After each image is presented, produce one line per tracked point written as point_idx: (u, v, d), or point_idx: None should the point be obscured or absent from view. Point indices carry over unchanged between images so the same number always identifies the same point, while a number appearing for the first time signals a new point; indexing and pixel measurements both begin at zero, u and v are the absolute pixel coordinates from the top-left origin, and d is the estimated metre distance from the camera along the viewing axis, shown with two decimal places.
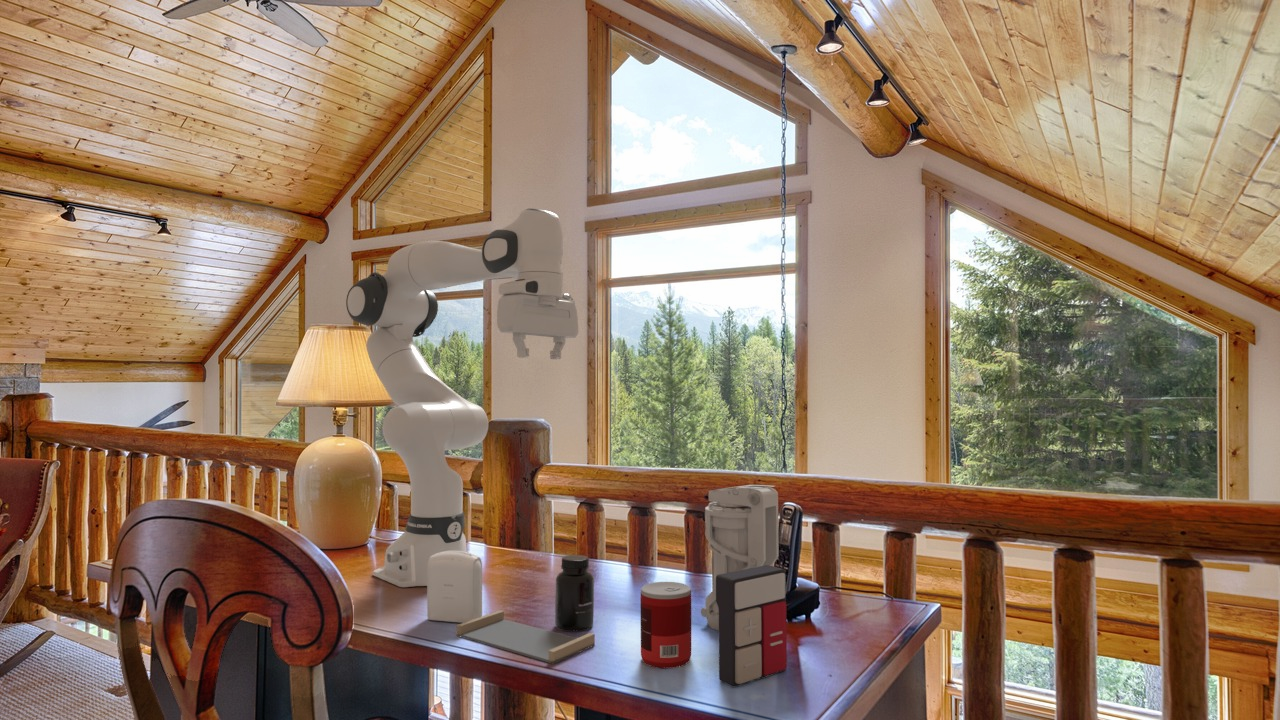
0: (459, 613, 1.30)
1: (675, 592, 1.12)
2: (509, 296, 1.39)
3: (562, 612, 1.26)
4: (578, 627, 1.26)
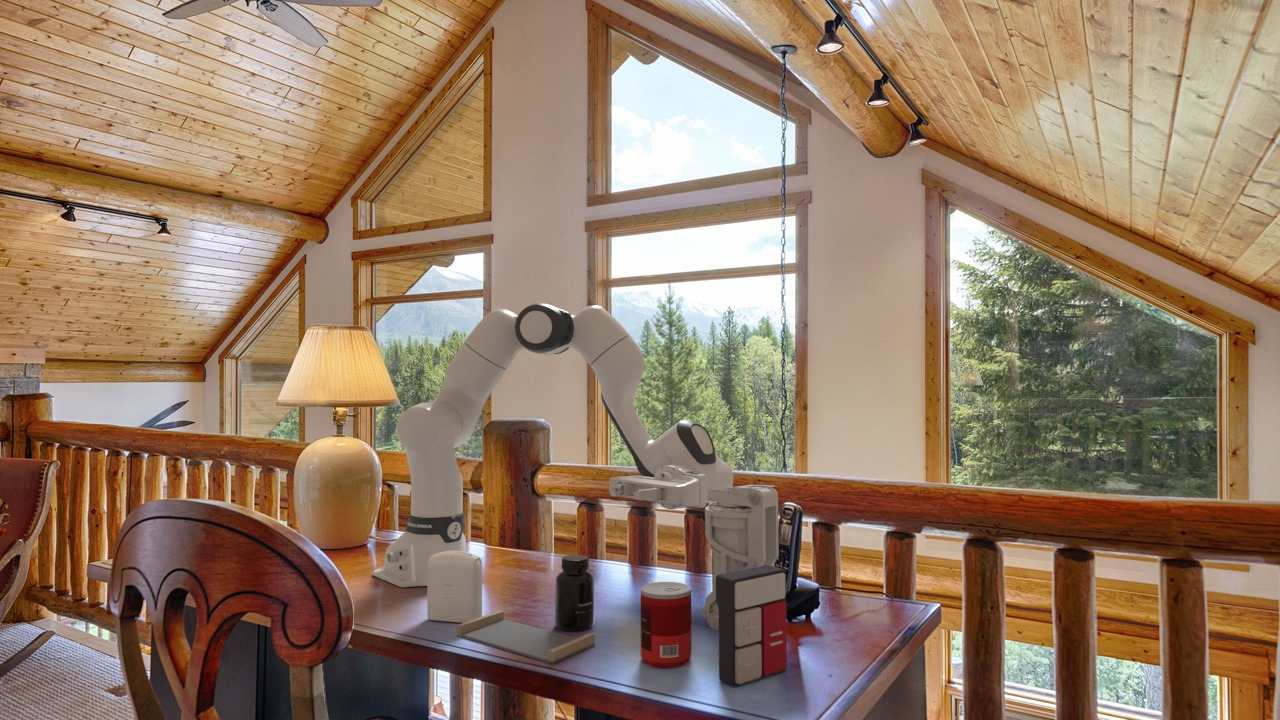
0: (459, 613, 1.30)
1: (675, 592, 1.12)
2: (699, 493, 1.40)
3: (562, 612, 1.26)
4: (578, 627, 1.26)
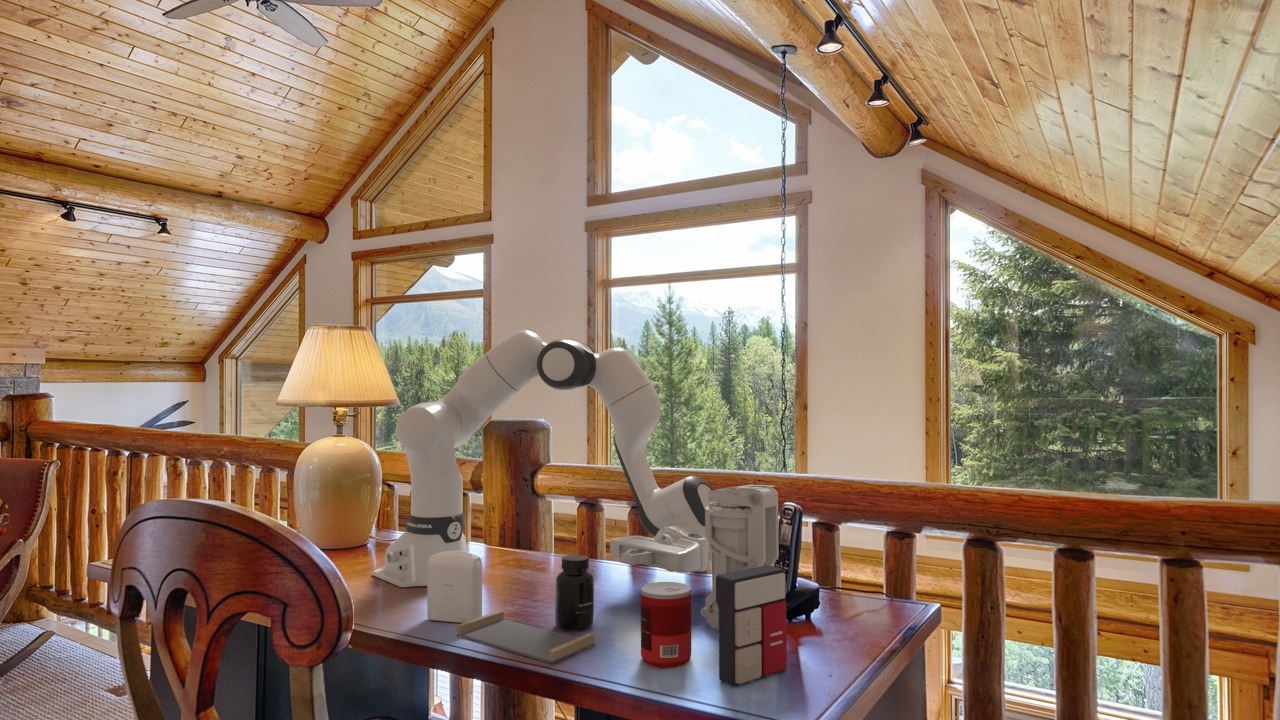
0: (459, 613, 1.30)
1: (675, 592, 1.12)
2: (700, 558, 1.40)
3: (562, 612, 1.26)
4: (578, 627, 1.26)
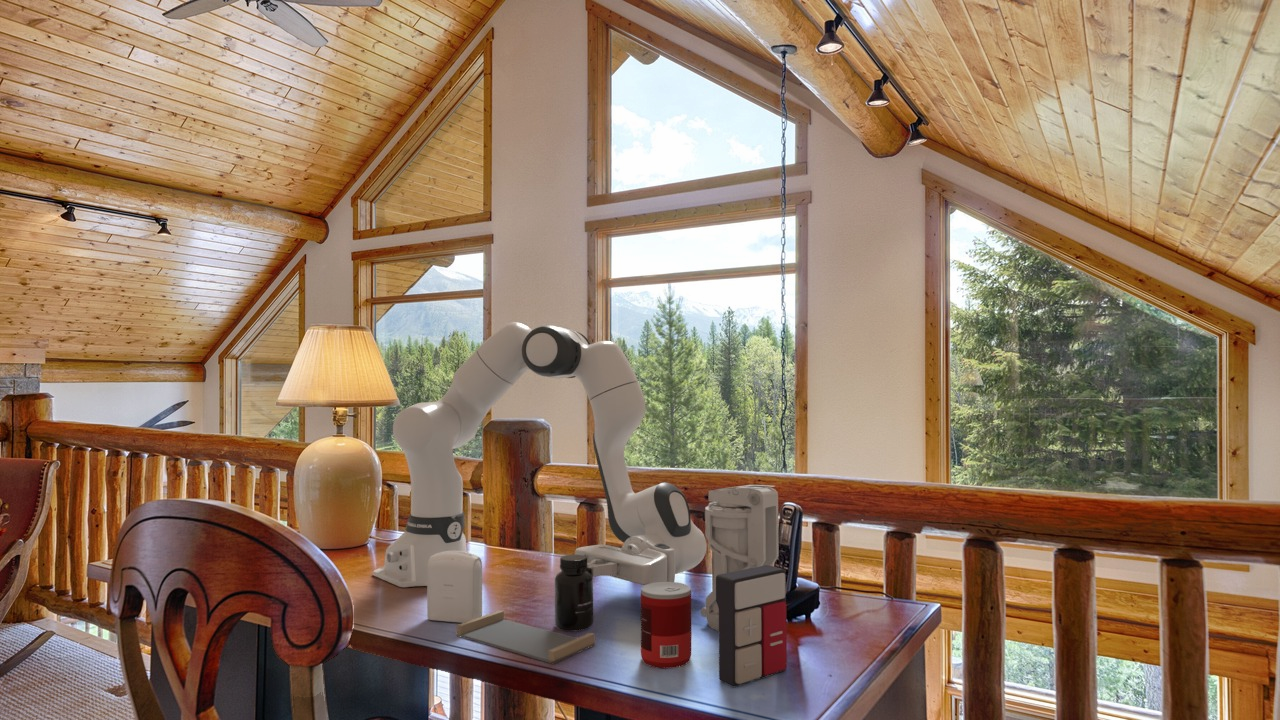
0: (459, 613, 1.30)
1: (675, 592, 1.12)
2: (667, 570, 1.33)
3: (561, 612, 1.26)
4: (578, 627, 1.26)
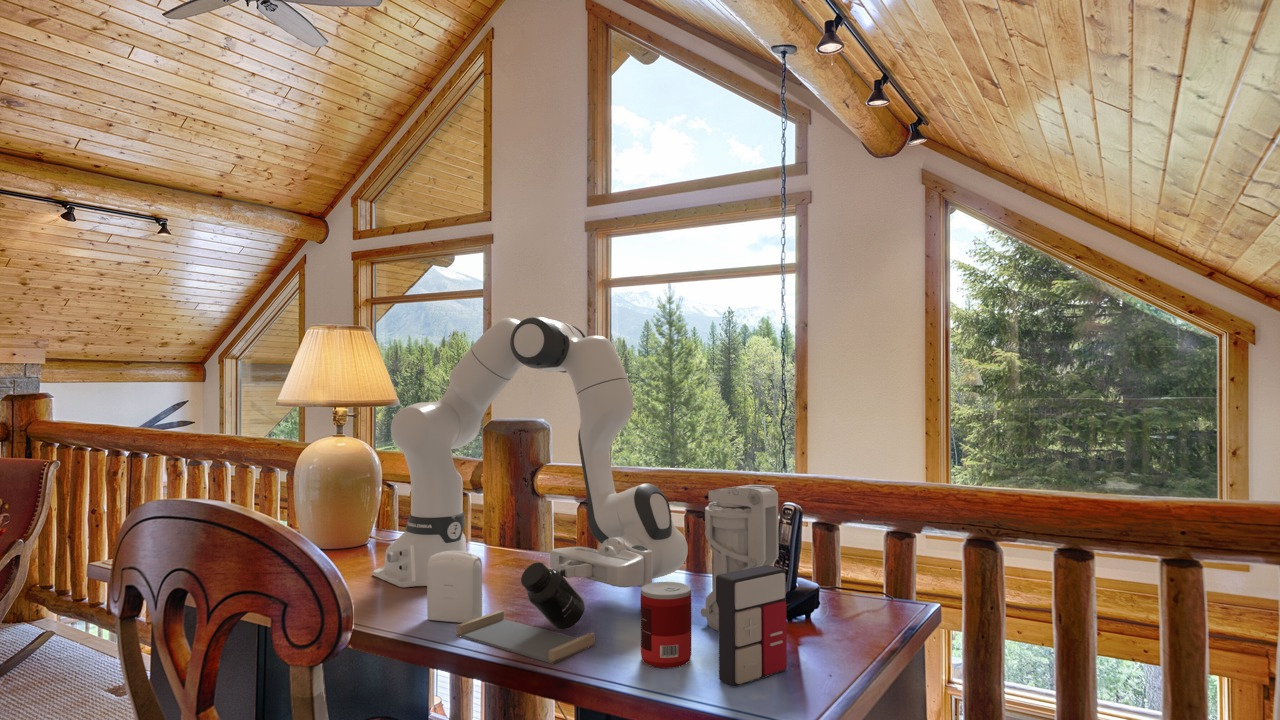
0: (459, 613, 1.30)
1: (675, 592, 1.12)
2: (643, 572, 1.29)
3: (552, 621, 1.25)
4: (574, 622, 1.25)
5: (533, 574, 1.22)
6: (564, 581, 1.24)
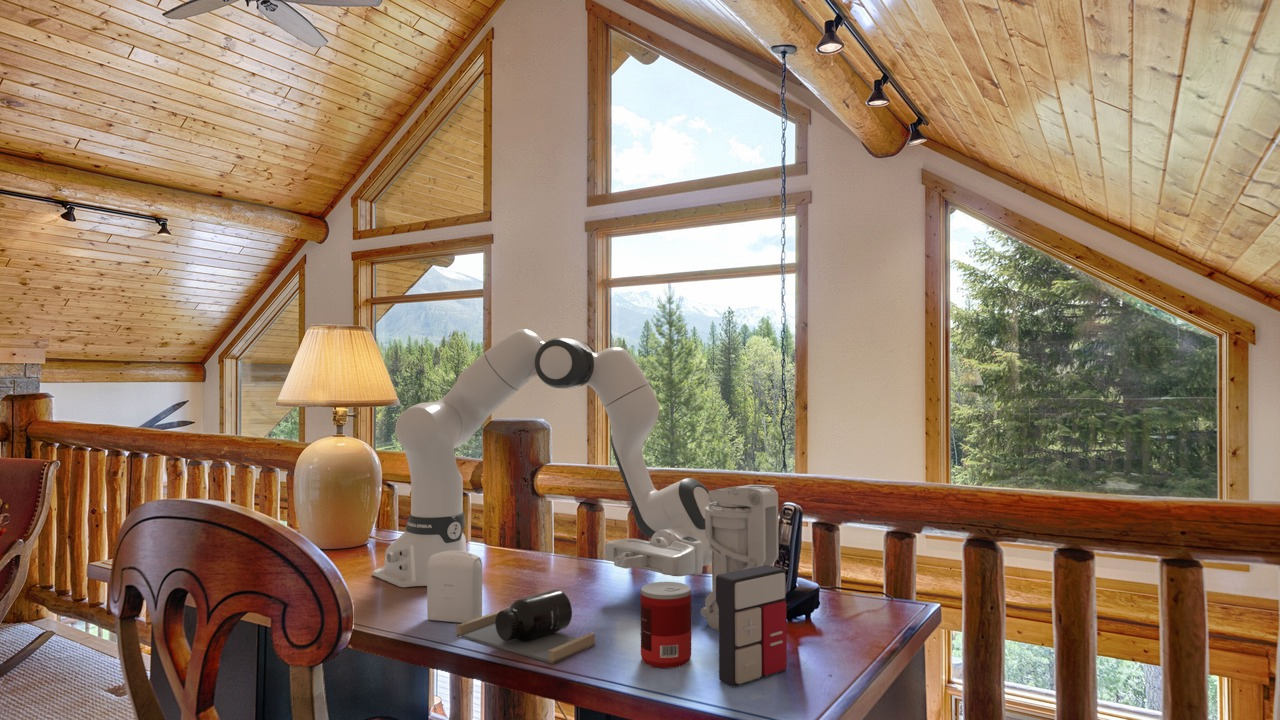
0: (459, 613, 1.30)
1: (675, 592, 1.12)
2: (695, 561, 1.38)
3: None
4: (568, 622, 1.24)
5: (504, 626, 1.18)
6: (536, 608, 1.20)
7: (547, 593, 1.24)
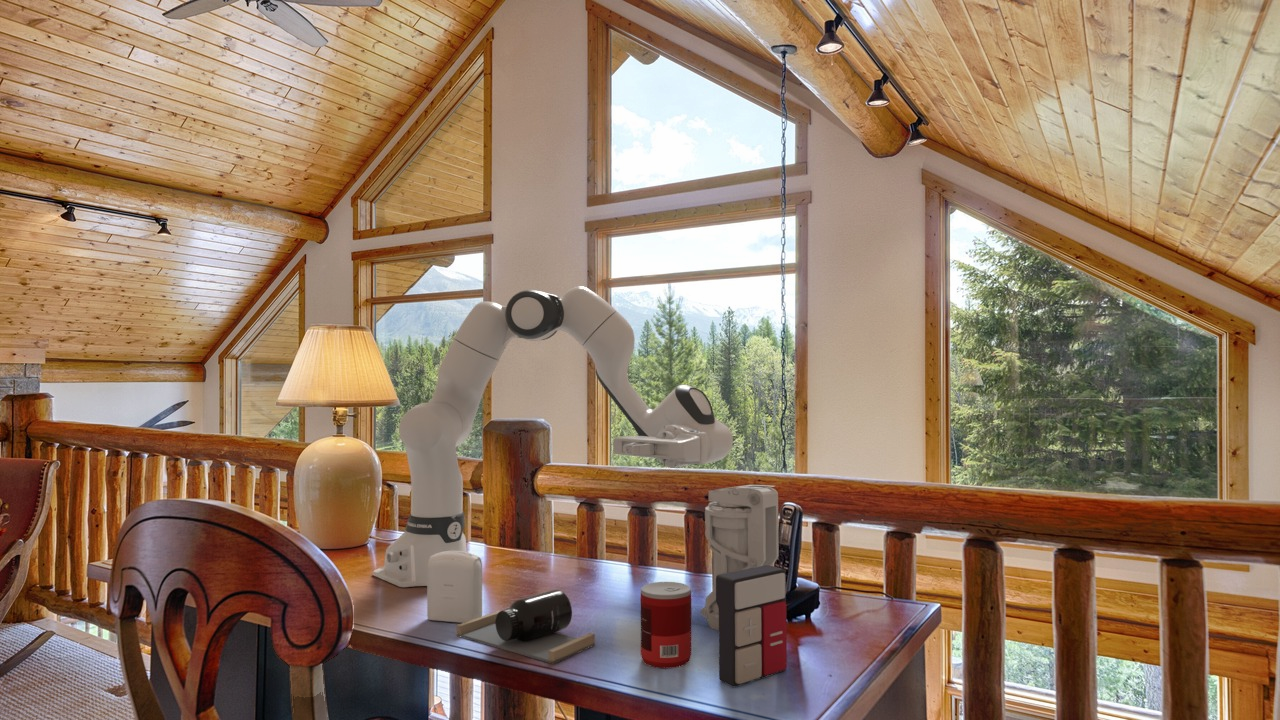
0: (459, 613, 1.30)
1: (675, 592, 1.12)
2: (699, 450, 1.45)
3: None
4: (568, 623, 1.24)
5: (504, 626, 1.18)
6: (536, 608, 1.20)
7: (547, 593, 1.24)
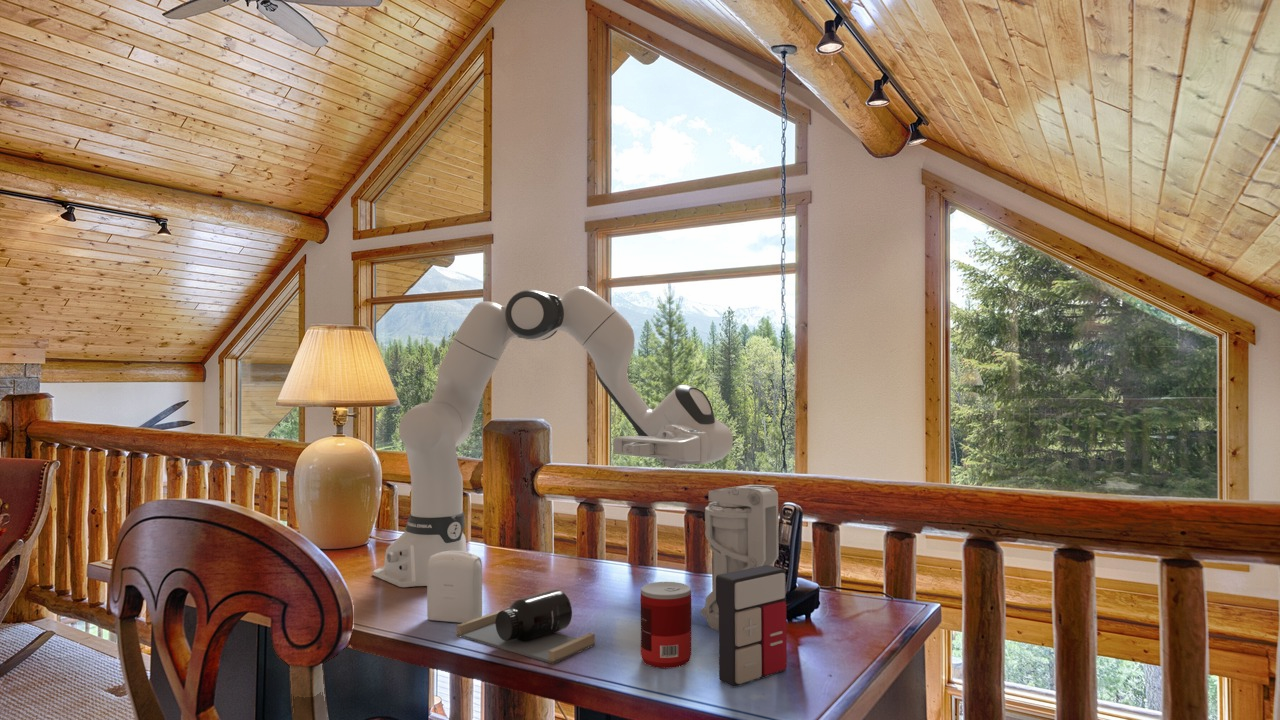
0: (459, 613, 1.30)
1: (675, 592, 1.12)
2: (699, 450, 1.45)
3: None
4: (568, 623, 1.24)
5: (504, 626, 1.18)
6: (536, 608, 1.20)
7: (547, 593, 1.24)
